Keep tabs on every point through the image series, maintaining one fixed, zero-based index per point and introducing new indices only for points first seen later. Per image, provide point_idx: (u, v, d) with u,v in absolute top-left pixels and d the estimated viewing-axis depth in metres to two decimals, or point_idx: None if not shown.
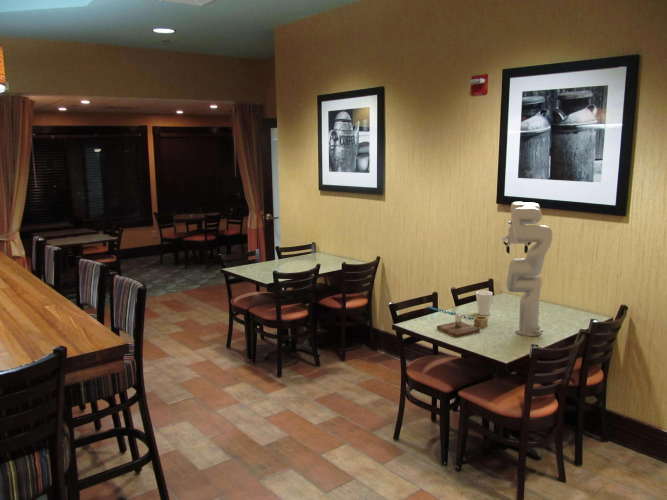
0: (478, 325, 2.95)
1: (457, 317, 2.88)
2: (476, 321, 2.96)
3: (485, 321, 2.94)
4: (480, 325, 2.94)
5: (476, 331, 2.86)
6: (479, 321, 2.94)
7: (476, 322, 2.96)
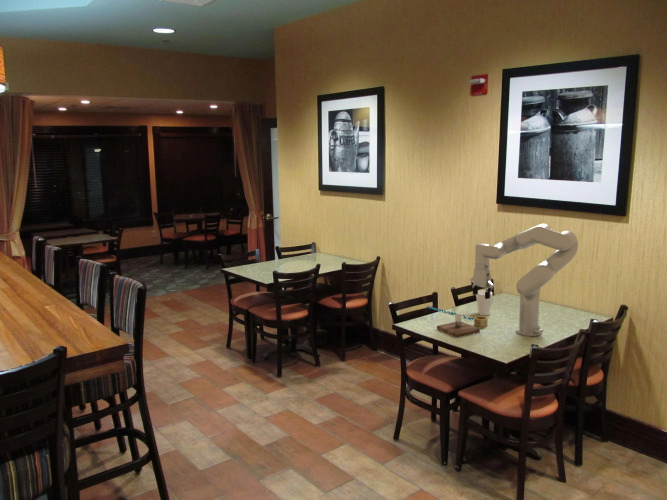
0: (478, 325, 2.95)
1: (457, 317, 2.88)
2: (476, 321, 2.96)
3: (485, 321, 2.94)
4: (480, 325, 2.94)
5: (476, 331, 2.86)
6: (479, 321, 2.94)
7: (476, 322, 2.96)
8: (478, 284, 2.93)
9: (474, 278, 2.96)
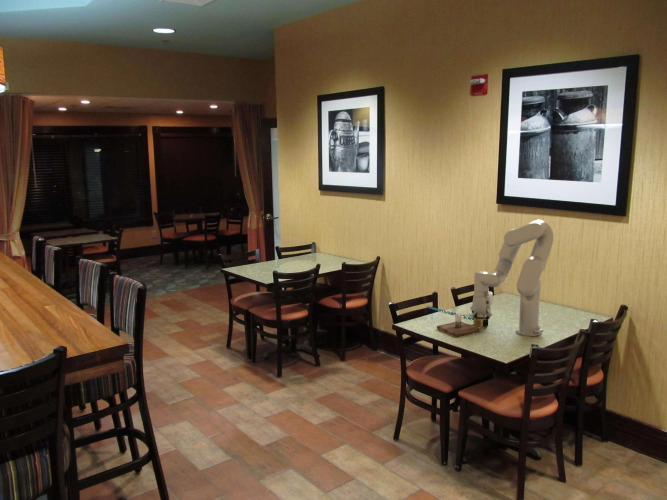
0: (478, 325, 2.95)
1: (457, 317, 2.88)
2: (476, 321, 2.96)
3: None
4: (480, 325, 2.95)
5: (476, 331, 2.86)
6: (479, 321, 2.94)
7: (476, 322, 2.96)
8: (477, 311, 2.96)
9: (473, 305, 2.98)
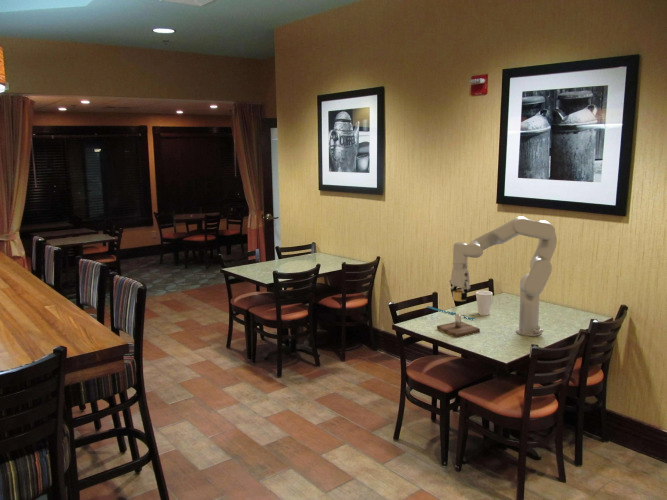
0: (456, 298, 2.85)
1: (457, 317, 2.88)
2: (454, 294, 2.86)
3: None
4: (458, 298, 2.85)
5: (476, 331, 2.86)
6: (457, 294, 2.85)
7: (454, 295, 2.86)
8: (456, 284, 2.86)
9: (452, 278, 2.88)
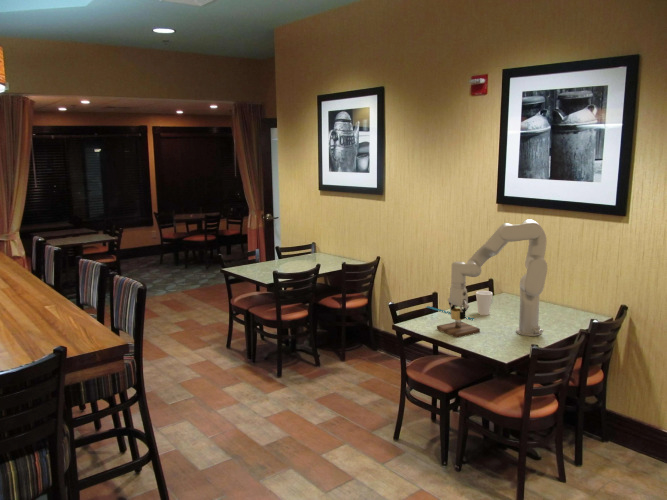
0: (455, 317, 2.87)
1: None
2: (453, 313, 2.87)
3: None
4: (457, 317, 2.86)
5: (476, 331, 2.86)
6: (456, 313, 2.86)
7: (453, 314, 2.87)
8: (454, 303, 2.87)
9: (450, 297, 2.90)
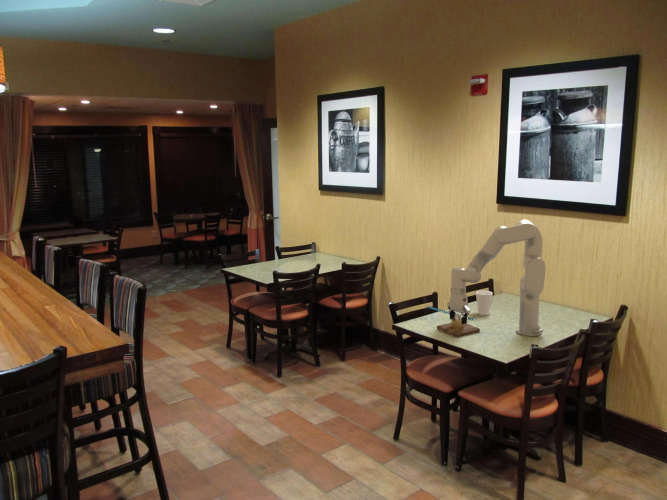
0: (455, 326, 2.88)
1: (457, 317, 2.88)
2: (453, 322, 2.88)
3: None
4: (457, 326, 2.87)
5: (476, 331, 2.86)
6: (456, 322, 2.87)
7: (453, 323, 2.88)
8: (455, 309, 2.88)
9: (451, 303, 2.90)
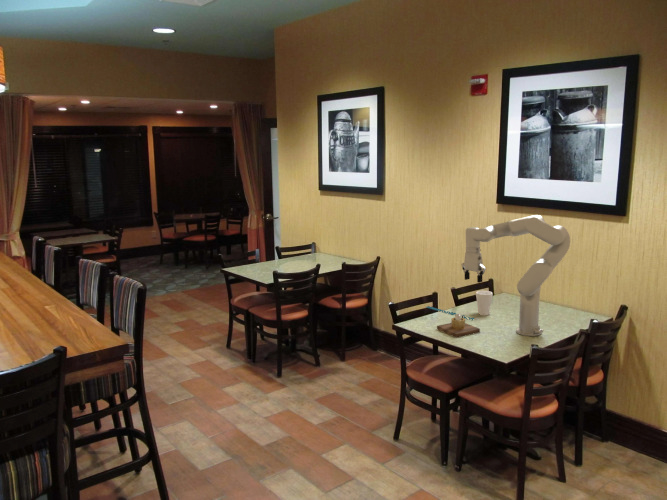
0: (455, 326, 2.88)
1: (457, 317, 2.88)
2: (453, 322, 2.88)
3: (462, 322, 2.87)
4: (457, 326, 2.87)
5: (476, 331, 2.86)
6: (456, 322, 2.87)
7: (453, 323, 2.88)
8: (470, 268, 2.93)
9: (465, 263, 2.95)
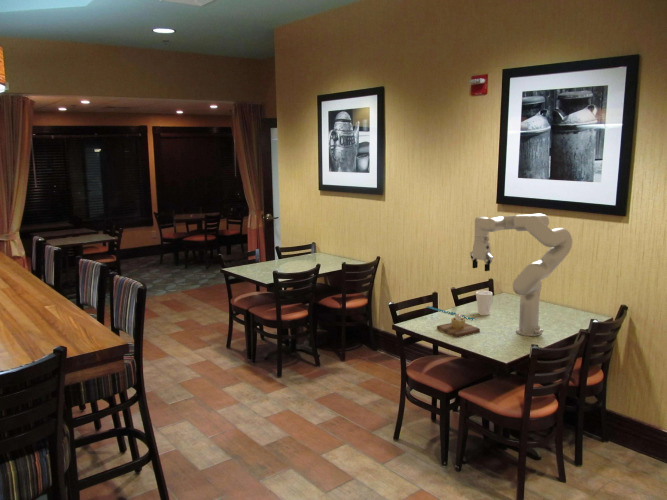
0: (455, 326, 2.88)
1: (457, 317, 2.88)
2: (453, 322, 2.88)
3: (462, 322, 2.87)
4: (457, 326, 2.87)
5: (476, 331, 2.86)
6: (456, 322, 2.87)
7: (453, 323, 2.88)
8: (478, 257, 2.98)
9: (474, 251, 3.00)
